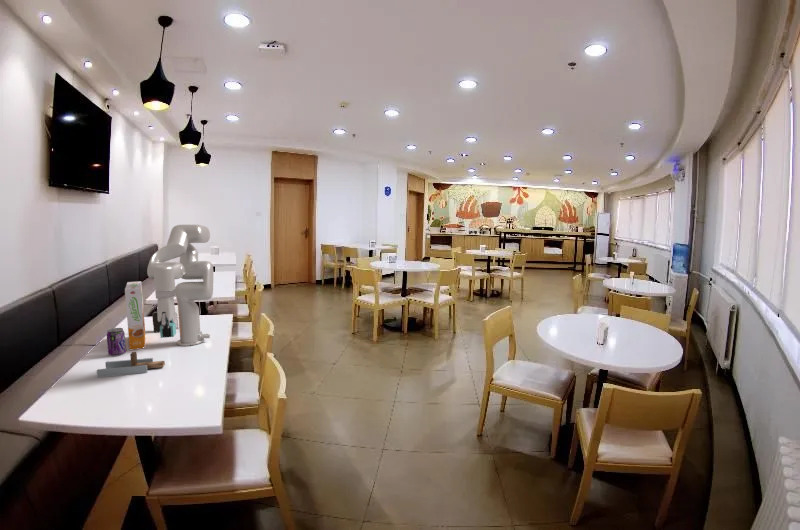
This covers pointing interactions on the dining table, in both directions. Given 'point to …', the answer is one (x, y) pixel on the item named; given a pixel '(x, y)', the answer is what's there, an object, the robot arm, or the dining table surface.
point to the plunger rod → (149, 364)
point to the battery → (156, 322)
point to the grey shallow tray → (123, 368)
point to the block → (173, 330)
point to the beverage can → (116, 341)
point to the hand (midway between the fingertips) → (168, 334)
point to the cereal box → (135, 314)
